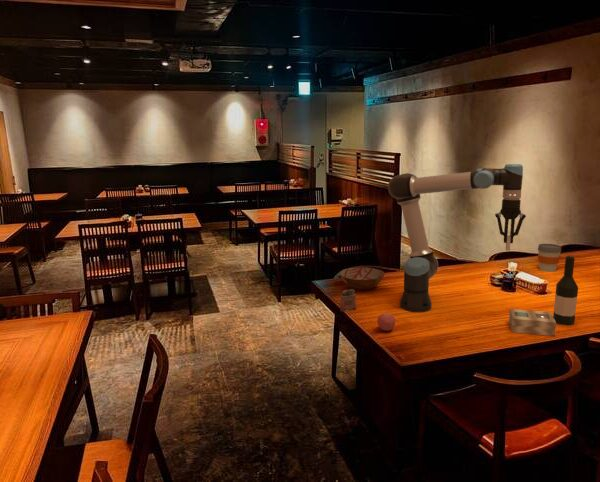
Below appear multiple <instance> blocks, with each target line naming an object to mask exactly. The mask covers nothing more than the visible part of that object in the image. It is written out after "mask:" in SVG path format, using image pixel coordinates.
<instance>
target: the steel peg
mask: <svg viewBox="0 0 600 482" xmlns="http://www.w3.org/2000/svg"><path fill="white" fill-rule="evenodd" d="M537 318H545V319H548V316H547V315H545V314H537Z"/></svg>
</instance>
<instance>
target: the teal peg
mask: <svg viewBox="0 0 600 482" xmlns="http://www.w3.org/2000/svg"><path fill="white" fill-rule="evenodd" d="M516 316H521V317H527V314H526V313H523V312H518V313H517V314H516Z"/></svg>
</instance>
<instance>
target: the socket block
mask: <svg viewBox="0 0 600 482" xmlns="http://www.w3.org/2000/svg"><path fill="white" fill-rule="evenodd" d="M518 312H523V313H526V314H527V317H521V316H516V314H517V313H518ZM537 314H545V315H547V316H548V319H545V318H537ZM508 316H509V317H508V323H509V326H510V329H511V332H512V333H515V334H516V333H518V334H519V333H520V334H528V335H540V336H548V337H549V336H550V337H555V336H556V329H557V328H556V325H557V323H556V321H555V320H554V318H553V315H552V313H551V311H542V310H529V309H517V308H516V309H515V308H509V314H508Z"/></svg>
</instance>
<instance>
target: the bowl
mask: <svg viewBox="0 0 600 482" xmlns="http://www.w3.org/2000/svg"><path fill="white" fill-rule="evenodd" d="M338 274H339V276H340V278H341V280H342V281H343V282H344V284H346V285H347V286H348V287H350V288H352V289H354V290H357V289H362V290H363V289H367V290H371V289H372V288H374V287H376V286H377V285H378V284H380V283H381V281H382V280H383V279H384V276H385V274H386V273H385V272H384V271H383V270H381V269H379V268H373V267H366V266H365V267H364V266H361V267H360V266H357V267H349V268H345V269H341V270H340V271H339V272H338ZM362 290H361V291H362ZM363 291H364V290H363Z"/></svg>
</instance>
